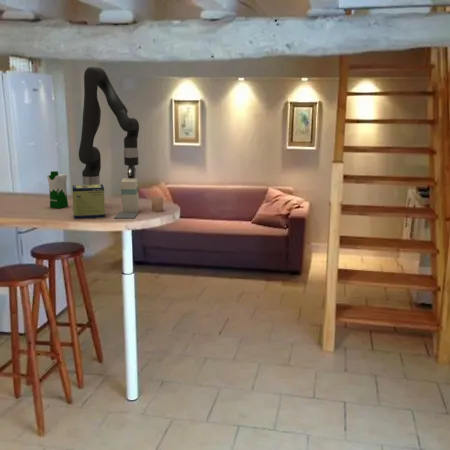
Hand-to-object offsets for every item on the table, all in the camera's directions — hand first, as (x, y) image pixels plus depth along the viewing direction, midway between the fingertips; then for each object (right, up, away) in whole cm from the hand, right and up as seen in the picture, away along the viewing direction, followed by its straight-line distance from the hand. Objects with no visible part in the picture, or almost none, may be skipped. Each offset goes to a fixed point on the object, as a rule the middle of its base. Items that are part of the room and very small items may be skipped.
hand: (132, 188), depth 288 cm
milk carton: (-42, -10, +8) cm, 44 cm away
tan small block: (+14, -12, -1) cm, 19 cm away
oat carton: (0, -12, -3) cm, 13 cm away
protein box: (-19, -16, -16) cm, 29 cm away
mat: (0, -15, -15) cm, 22 cm away
